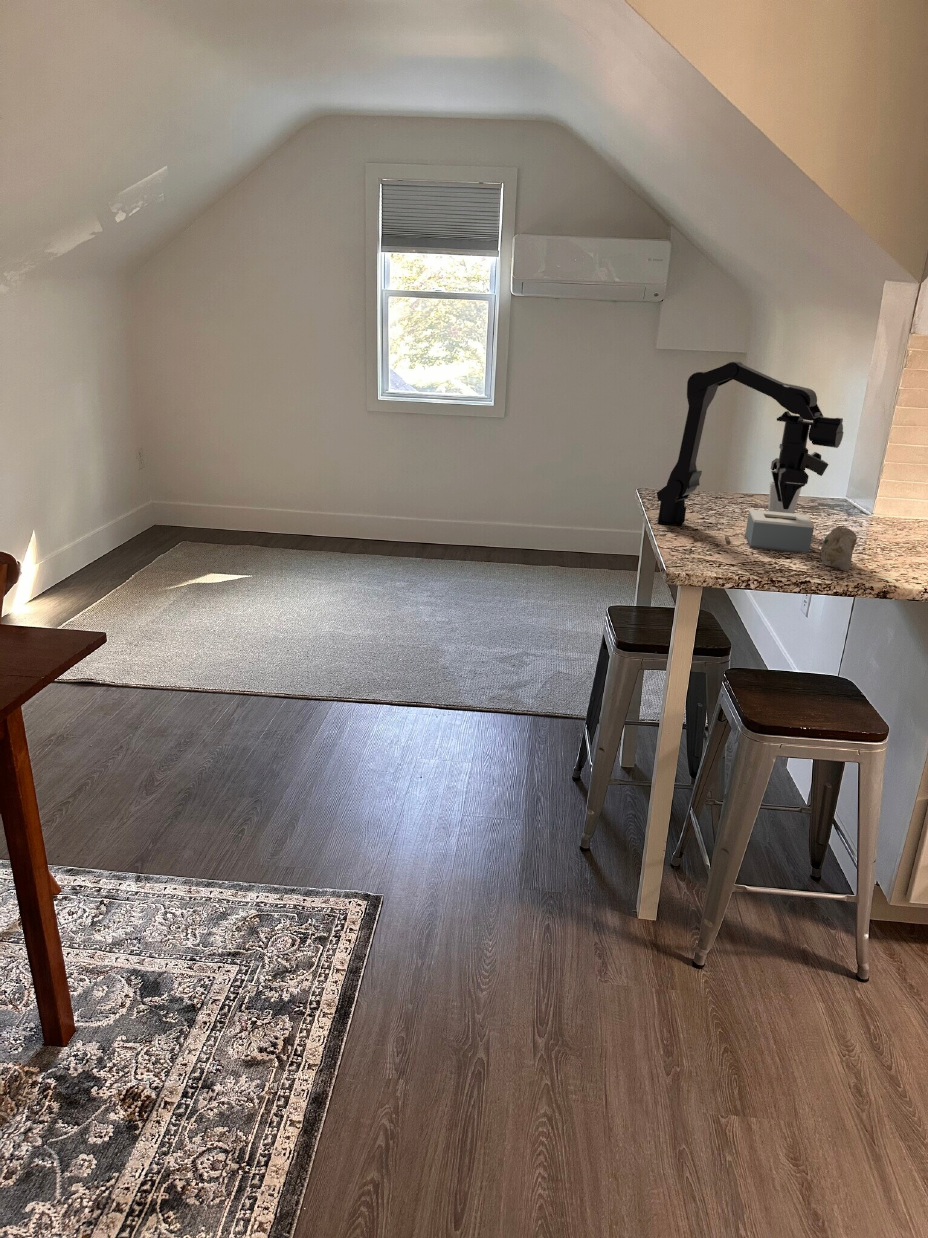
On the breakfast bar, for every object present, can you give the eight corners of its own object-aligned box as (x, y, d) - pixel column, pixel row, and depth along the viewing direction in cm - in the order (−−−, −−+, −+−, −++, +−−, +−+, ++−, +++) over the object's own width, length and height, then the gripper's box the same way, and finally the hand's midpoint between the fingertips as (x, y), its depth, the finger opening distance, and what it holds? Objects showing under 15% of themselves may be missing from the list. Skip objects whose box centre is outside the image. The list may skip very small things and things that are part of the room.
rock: (816, 550, 220) (831, 515, 213) (844, 557, 218) (859, 522, 212) (814, 577, 211) (829, 542, 204) (843, 585, 209) (859, 550, 203)
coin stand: (694, 540, 227) (695, 537, 227) (693, 535, 231) (694, 532, 231) (729, 544, 226) (730, 540, 225) (728, 539, 230) (728, 536, 230)
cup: (795, 533, 241) (803, 488, 237) (764, 530, 242) (772, 485, 238) (791, 526, 248) (799, 482, 244) (761, 523, 249) (768, 480, 245)
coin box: (749, 547, 223) (754, 519, 221) (744, 535, 235) (749, 509, 232) (809, 553, 221) (814, 525, 219) (801, 541, 232) (806, 514, 230)
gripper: (836, 450, 209) (823, 516, 215) (822, 439, 227) (810, 500, 232) (786, 446, 211) (775, 512, 216) (775, 435, 228) (765, 496, 234)
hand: (782, 505), depth 224 cm, fingers open, 9 cm apart
